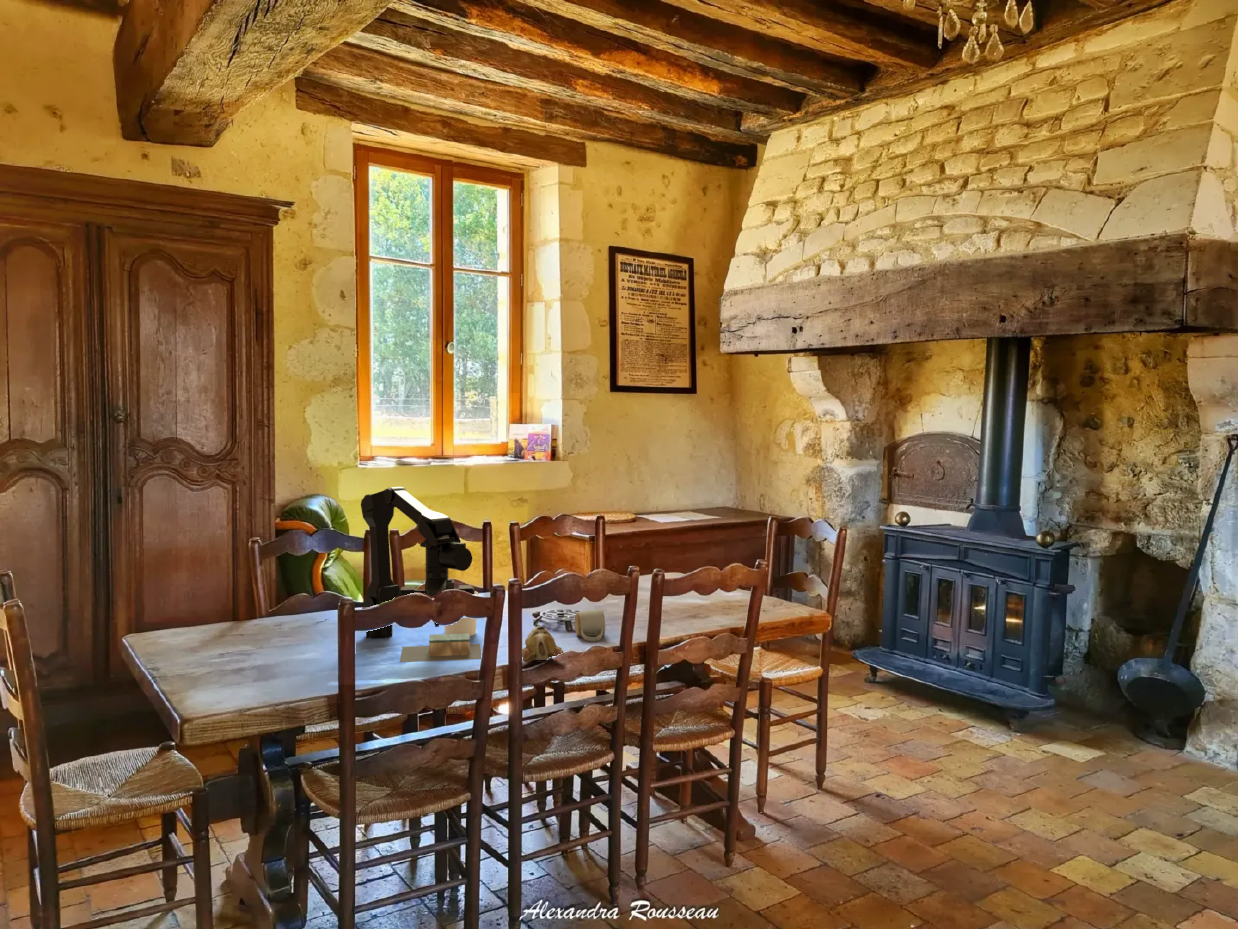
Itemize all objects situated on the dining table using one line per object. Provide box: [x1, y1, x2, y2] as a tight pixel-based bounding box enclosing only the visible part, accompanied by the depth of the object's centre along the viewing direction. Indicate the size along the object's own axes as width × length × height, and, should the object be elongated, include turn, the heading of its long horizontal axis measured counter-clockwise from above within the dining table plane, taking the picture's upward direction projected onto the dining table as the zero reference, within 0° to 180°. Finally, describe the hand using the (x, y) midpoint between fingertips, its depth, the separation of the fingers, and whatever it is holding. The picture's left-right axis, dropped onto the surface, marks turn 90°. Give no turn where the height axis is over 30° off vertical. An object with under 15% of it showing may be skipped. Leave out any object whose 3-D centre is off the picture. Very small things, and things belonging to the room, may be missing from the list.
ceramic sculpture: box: [521, 624, 564, 663], centre depth 226 cm, size 11×9×15 cm
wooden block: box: [428, 633, 471, 656], centre depth 229 cm, size 4×6×10 cm
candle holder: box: [443, 590, 479, 637], centre depth 248 cm, size 10×10×12 cm
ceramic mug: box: [574, 608, 606, 643], centre depth 249 cm, size 10×8×7 cm
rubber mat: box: [399, 643, 482, 663], centre depth 229 cm, size 20×14×1 cm
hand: (437, 626), depth 228 cm, fingers closed
